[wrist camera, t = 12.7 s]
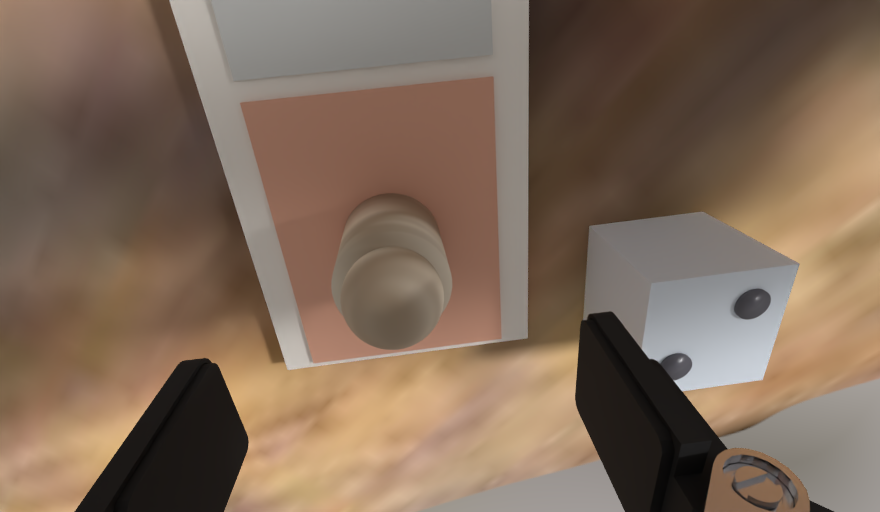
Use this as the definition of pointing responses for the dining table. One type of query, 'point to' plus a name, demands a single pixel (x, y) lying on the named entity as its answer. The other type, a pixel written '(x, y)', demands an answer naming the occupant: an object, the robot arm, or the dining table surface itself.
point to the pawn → (391, 272)
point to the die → (691, 294)
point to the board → (371, 149)
